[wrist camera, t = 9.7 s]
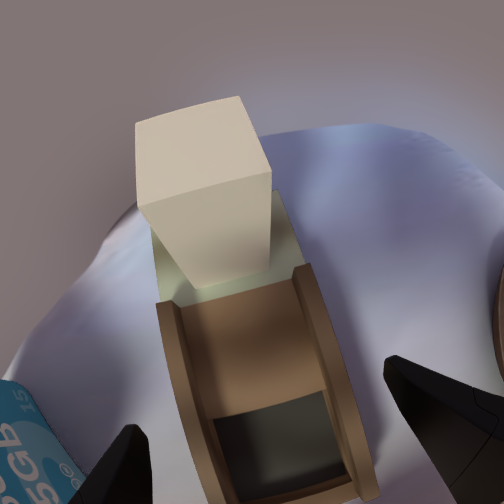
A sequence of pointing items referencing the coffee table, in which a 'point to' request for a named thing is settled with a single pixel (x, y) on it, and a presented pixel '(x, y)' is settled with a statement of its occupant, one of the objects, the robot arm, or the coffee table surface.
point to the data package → (31, 454)
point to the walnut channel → (263, 382)
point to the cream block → (206, 190)
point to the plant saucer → (499, 324)
